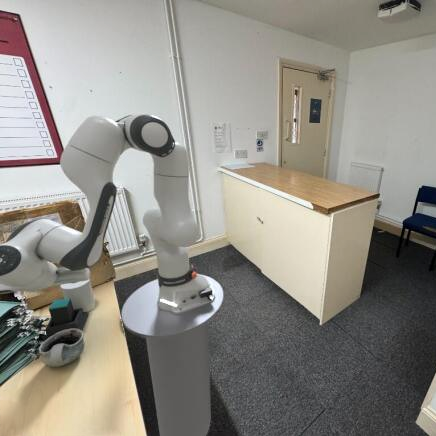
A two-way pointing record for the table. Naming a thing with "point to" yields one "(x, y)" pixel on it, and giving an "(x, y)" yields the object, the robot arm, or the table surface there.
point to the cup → (79, 295)
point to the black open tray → (77, 324)
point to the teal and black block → (62, 311)
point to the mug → (62, 347)
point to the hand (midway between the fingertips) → (56, 283)
